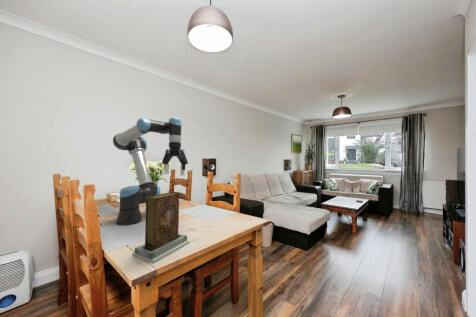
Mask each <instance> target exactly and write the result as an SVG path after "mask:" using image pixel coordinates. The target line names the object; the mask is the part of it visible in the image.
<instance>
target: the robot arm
mask: <svg viewBox="0 0 476 317" xmlns="http://www.w3.org/2000/svg"><path fill="white" fill-rule="evenodd" d="M148 133H157V134H160V135H167V134H168V148H169V149H165V153H164V156H163V157H162V161H161V163H162V164H164V168H163V169H164V175H169V174H170V164H169V163H170V161H171V160H172V158H173V157H176V158H177V159H178V161H179V163H180V175H179V176H185V170H186V165H188V164H189V162H188V159H187V156H186V154H185V149H181V148H182V143H181V142H182V119H181V118H179V117H170V118H169V119H168V122H166V121H165V122H164V121H160V120H155V119H154V120H153V119H149V118H142V117H140V118H138V119H137V121H136V124H135V125H133V126H132V127H130V128H128V129H126V130H125V131H123V132H118V133H116V134H115V135H114V136H113V137H112V144H113V146H114V147H115V148H116V149H118V150H120V151H128V154H129V155H130V156H131V157H132V161H133V164H134V169H135V173H136V177H137V180H138V185H129V186H125V187H122V188H121V189H120V191H119V212H118V214H117V217H116V220H115V221H116V225H119V226H128V225H129V226H130V225H134V224H138V223H141V222H142V220H143V216H142V212H141V210H140V205H143V204H146V198H147V197H150V196H155V195H159V194H161V188H160V186H159V185H157V184H156V182H155V181H153V180H152V177H151V173H150V169H149V168H148V169H149V170H148V169H147V167H146V163H147V158H146V156H145V152H146V150H147V149H148V142H147V140H146V139H145V137H144V135H146V134H148ZM147 164H148V163H147Z"/></svg>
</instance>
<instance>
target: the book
mask: <svg viewBox="0 0 476 317" xmlns="http://www.w3.org/2000/svg"><path fill="white" fill-rule="evenodd" d="M179 213H180V192H176V191H171V192H170V191H169V192H166V193H160V194H159V195H155V196H150V197H147V198H146V203H145V229H144V231H145V233H144V235H145V236H144V237H145V238H144V244H145V249H146V250H149V251H153V250H155V249H157V248H159V247H161V246H163V245H165V244H167V243H169V242H171V241H173V240H175V239H177V238H178V234H179V226H180V225H179V223H180V222H179V219H180V218H179V217H180V215H179Z"/></svg>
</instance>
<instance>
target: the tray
mask: <svg viewBox="0 0 476 317" xmlns="http://www.w3.org/2000/svg"><path fill="white" fill-rule="evenodd" d="M189 244H190V240H188V235H185V234H181V233H178V238H177V239H175V240H173V241H171V242H169V243H167V244H165V245H163V246H161V247H159V248H157V249H155V250H153V251H149V250H146V249H145V243H144V244H141V245H140V246H139V245H138V246H137V247H134V252H132V253H131V256H134V257H136V258H139V259H141V260H144V261H147V262H150V263H153V264H155V263H157V262H159V261H160V260H162V259H164V258H165V257H167V256H169V255H171V254H173V253H174V252H176V251H178V250H180V249H181V248H183V247H185V246H187V245H189Z"/></svg>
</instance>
